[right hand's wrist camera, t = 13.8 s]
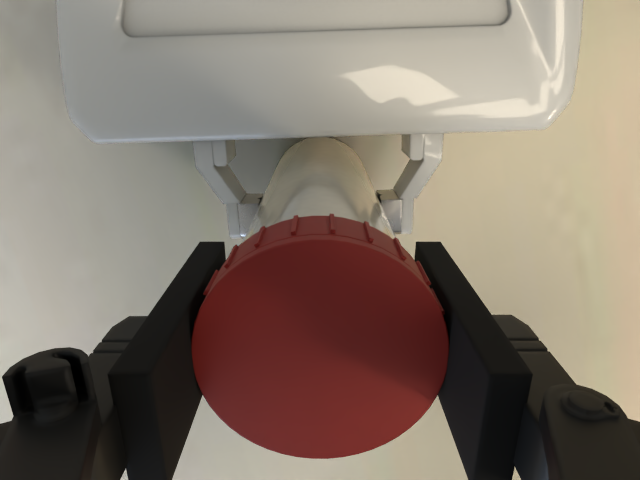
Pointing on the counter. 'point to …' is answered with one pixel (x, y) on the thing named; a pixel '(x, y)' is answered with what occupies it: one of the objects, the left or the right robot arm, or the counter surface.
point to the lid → (320, 338)
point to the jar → (320, 187)
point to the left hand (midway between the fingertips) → (321, 232)
